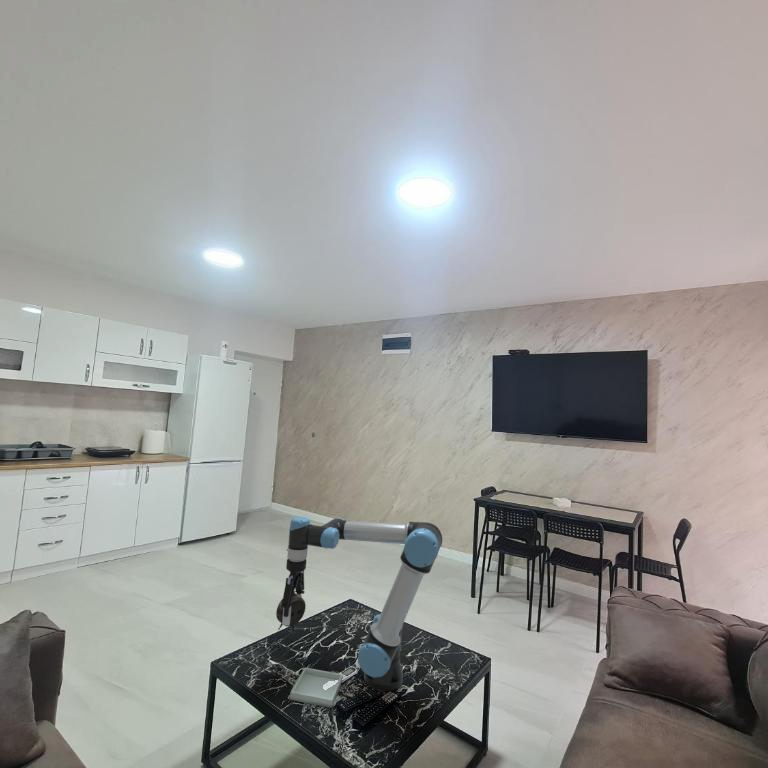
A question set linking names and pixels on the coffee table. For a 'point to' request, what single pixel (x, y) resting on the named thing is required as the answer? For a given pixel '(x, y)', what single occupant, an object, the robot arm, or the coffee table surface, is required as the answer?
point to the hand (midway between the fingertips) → (291, 617)
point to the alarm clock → (292, 610)
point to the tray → (316, 687)
